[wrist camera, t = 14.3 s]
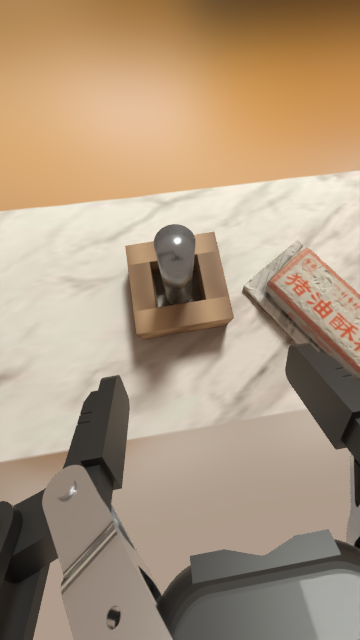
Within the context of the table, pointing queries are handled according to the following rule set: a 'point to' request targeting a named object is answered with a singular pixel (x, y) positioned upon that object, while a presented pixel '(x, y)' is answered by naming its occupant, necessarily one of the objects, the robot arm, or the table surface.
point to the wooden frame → (179, 316)
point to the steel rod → (176, 261)
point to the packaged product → (311, 304)
